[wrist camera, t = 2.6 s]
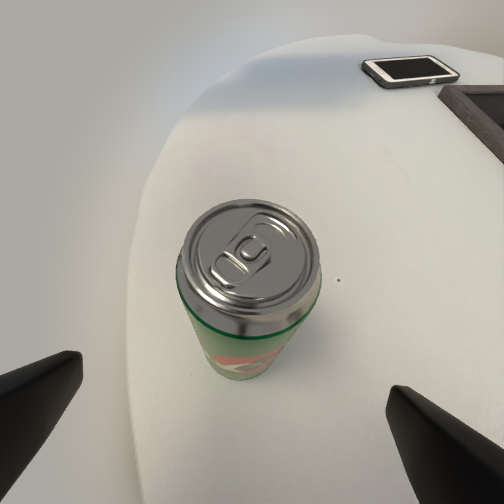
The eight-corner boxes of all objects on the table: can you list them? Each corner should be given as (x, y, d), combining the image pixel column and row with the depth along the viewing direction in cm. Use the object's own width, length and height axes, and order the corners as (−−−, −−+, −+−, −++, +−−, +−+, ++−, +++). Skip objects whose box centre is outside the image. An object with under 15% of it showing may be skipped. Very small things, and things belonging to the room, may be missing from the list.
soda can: (290, 339, 18) (361, 247, 8) (242, 400, 16) (260, 373, 6) (238, 294, 20) (246, 170, 10) (188, 343, 18) (133, 249, 8)
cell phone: (358, 66, 43) (361, 59, 42) (428, 61, 46) (432, 54, 46) (384, 89, 39) (387, 82, 39) (458, 82, 43) (463, 75, 42)
